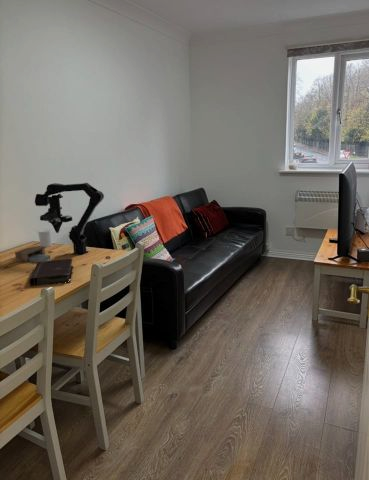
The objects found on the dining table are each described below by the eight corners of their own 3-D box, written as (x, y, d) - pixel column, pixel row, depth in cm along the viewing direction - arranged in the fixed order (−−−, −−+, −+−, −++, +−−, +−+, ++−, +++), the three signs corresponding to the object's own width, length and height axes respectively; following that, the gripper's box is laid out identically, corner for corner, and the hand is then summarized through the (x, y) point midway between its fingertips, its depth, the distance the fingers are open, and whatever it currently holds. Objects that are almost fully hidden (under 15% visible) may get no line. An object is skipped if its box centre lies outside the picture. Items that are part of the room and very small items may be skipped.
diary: (29, 288, 177) (27, 277, 175) (37, 270, 200) (35, 261, 199) (72, 283, 180) (71, 273, 179) (75, 267, 204) (74, 258, 203)
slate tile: (50, 259, 218) (50, 255, 217) (40, 263, 211) (40, 259, 210) (33, 257, 222) (33, 253, 222) (23, 261, 215) (22, 257, 215)
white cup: (53, 246, 243) (52, 231, 241) (40, 248, 240) (38, 232, 238) (52, 243, 250) (50, 228, 248) (39, 245, 247) (37, 229, 244)
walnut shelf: (45, 255, 225) (44, 246, 224) (25, 262, 212) (24, 253, 211) (35, 253, 228) (34, 245, 227) (15, 261, 214) (14, 251, 213)
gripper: (31, 207, 219) (34, 234, 223) (58, 209, 212) (61, 237, 216) (45, 204, 229) (48, 230, 233) (71, 205, 222) (74, 232, 226)
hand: (57, 232), depth 227 cm, fingers closed
